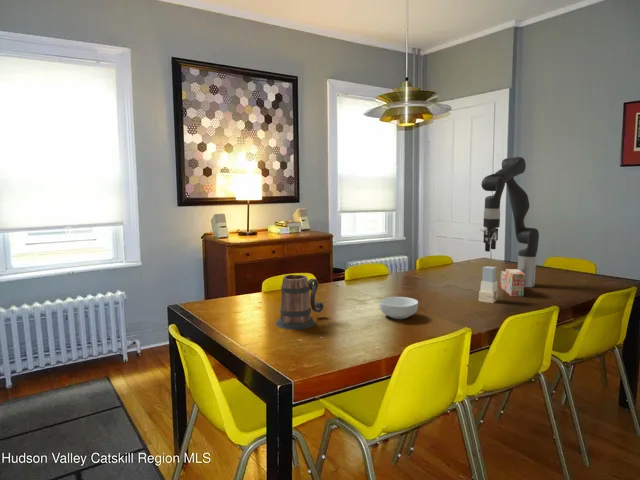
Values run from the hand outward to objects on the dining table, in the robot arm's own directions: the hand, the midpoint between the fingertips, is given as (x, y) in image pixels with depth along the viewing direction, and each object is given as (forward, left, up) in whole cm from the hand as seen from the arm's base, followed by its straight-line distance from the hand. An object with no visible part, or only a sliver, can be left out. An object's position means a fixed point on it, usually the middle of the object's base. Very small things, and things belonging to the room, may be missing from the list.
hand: (490, 250), depth 224 cm
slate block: (0, 0, -16) cm, 16 cm away
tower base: (0, 0, -26) cm, 26 cm away
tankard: (+84, -51, -26) cm, 102 cm away
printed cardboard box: (-26, +4, -26) cm, 37 cm away
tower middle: (0, 0, -21) cm, 21 cm away
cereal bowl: (+52, -22, -26) cm, 62 cm away
